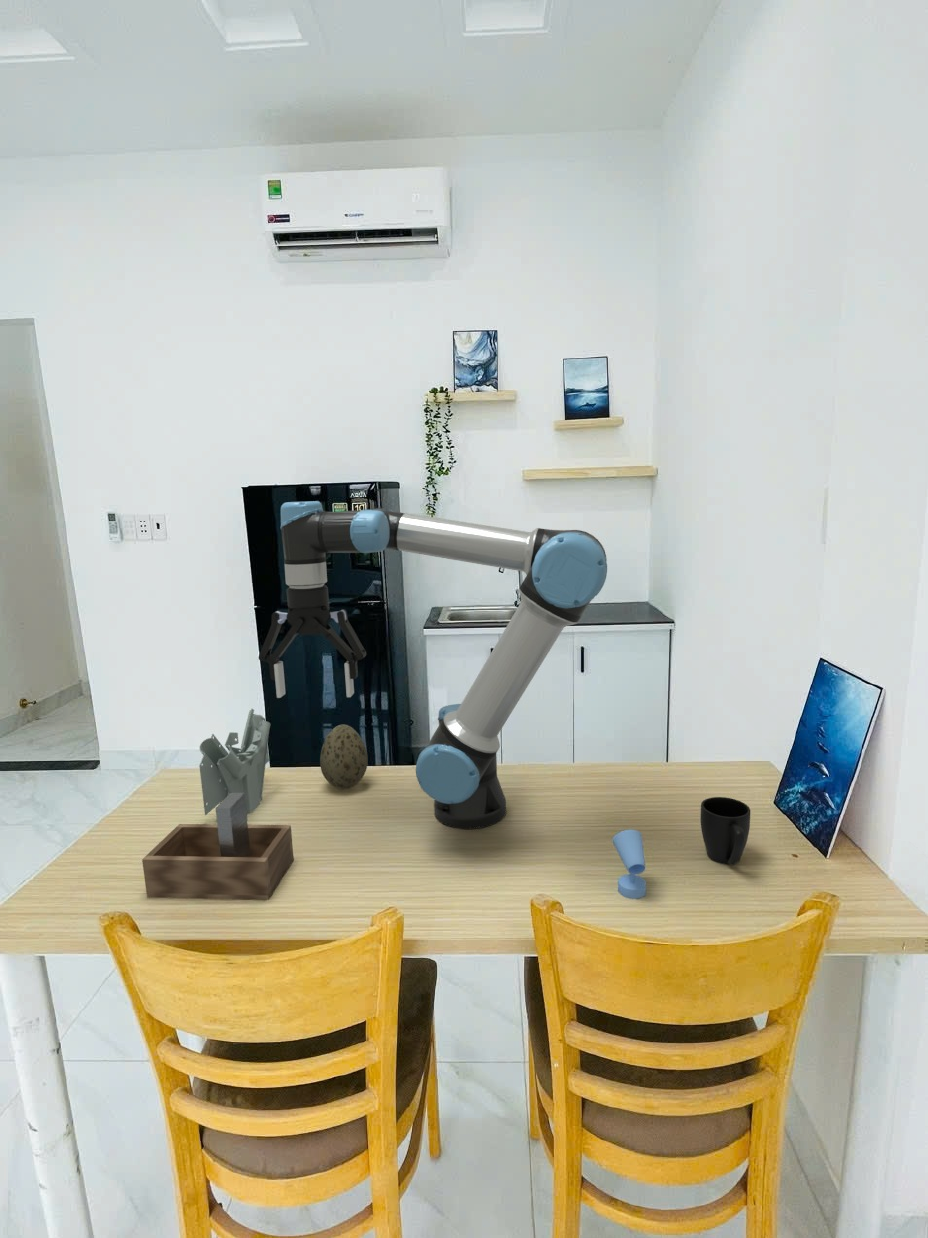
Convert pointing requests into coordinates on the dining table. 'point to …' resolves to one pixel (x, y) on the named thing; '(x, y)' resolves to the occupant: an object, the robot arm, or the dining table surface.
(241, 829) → the angle bracket
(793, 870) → the dining table surface
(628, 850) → the spotlight
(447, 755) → the robot arm
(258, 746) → the bracket
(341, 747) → the decorative egg
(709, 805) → the mug
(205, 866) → the open wooden box
